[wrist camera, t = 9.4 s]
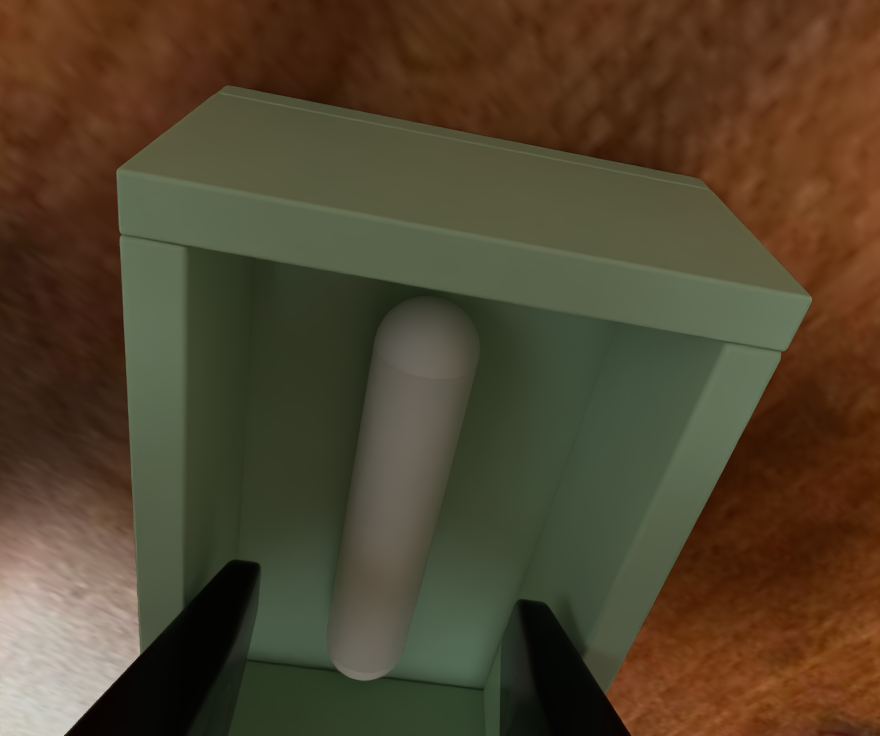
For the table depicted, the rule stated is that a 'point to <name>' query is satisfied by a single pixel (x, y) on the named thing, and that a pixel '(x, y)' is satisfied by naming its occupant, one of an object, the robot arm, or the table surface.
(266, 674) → the bin
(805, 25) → the table surface
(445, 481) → the rod with rounded ends
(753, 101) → the table surface
